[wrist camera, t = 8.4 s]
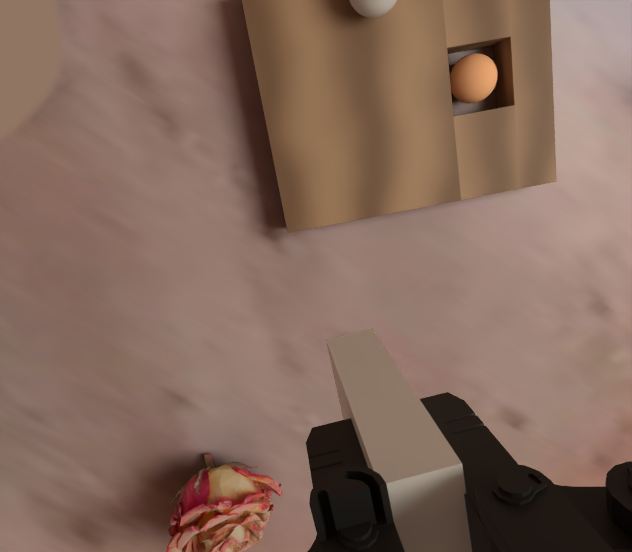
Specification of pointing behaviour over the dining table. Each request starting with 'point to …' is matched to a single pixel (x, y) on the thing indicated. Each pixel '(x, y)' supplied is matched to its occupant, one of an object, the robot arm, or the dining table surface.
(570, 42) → the dining table surface
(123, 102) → the dining table surface
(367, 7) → the grey ball
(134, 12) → the dining table surface
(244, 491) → the flower
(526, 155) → the board
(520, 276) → the dining table surface
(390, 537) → the robot arm
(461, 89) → the ball
